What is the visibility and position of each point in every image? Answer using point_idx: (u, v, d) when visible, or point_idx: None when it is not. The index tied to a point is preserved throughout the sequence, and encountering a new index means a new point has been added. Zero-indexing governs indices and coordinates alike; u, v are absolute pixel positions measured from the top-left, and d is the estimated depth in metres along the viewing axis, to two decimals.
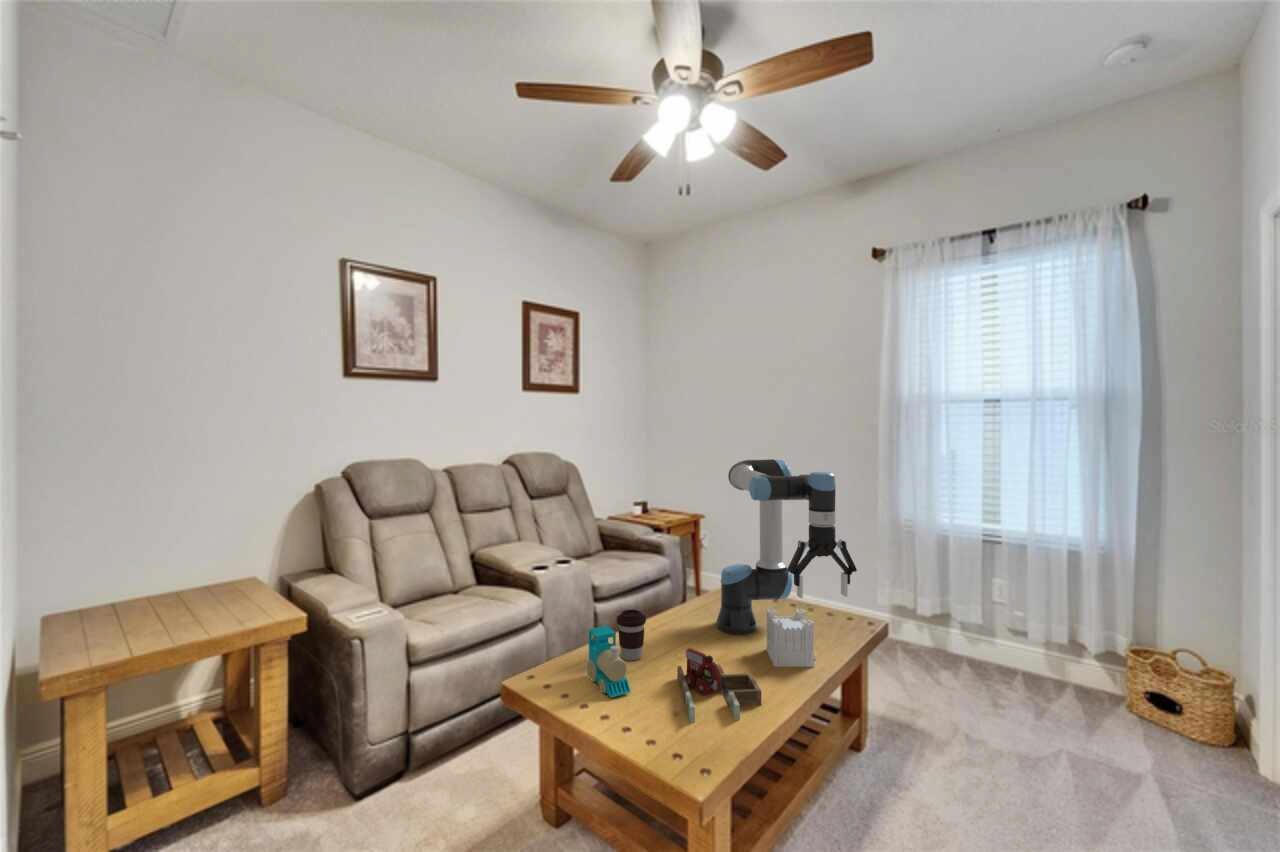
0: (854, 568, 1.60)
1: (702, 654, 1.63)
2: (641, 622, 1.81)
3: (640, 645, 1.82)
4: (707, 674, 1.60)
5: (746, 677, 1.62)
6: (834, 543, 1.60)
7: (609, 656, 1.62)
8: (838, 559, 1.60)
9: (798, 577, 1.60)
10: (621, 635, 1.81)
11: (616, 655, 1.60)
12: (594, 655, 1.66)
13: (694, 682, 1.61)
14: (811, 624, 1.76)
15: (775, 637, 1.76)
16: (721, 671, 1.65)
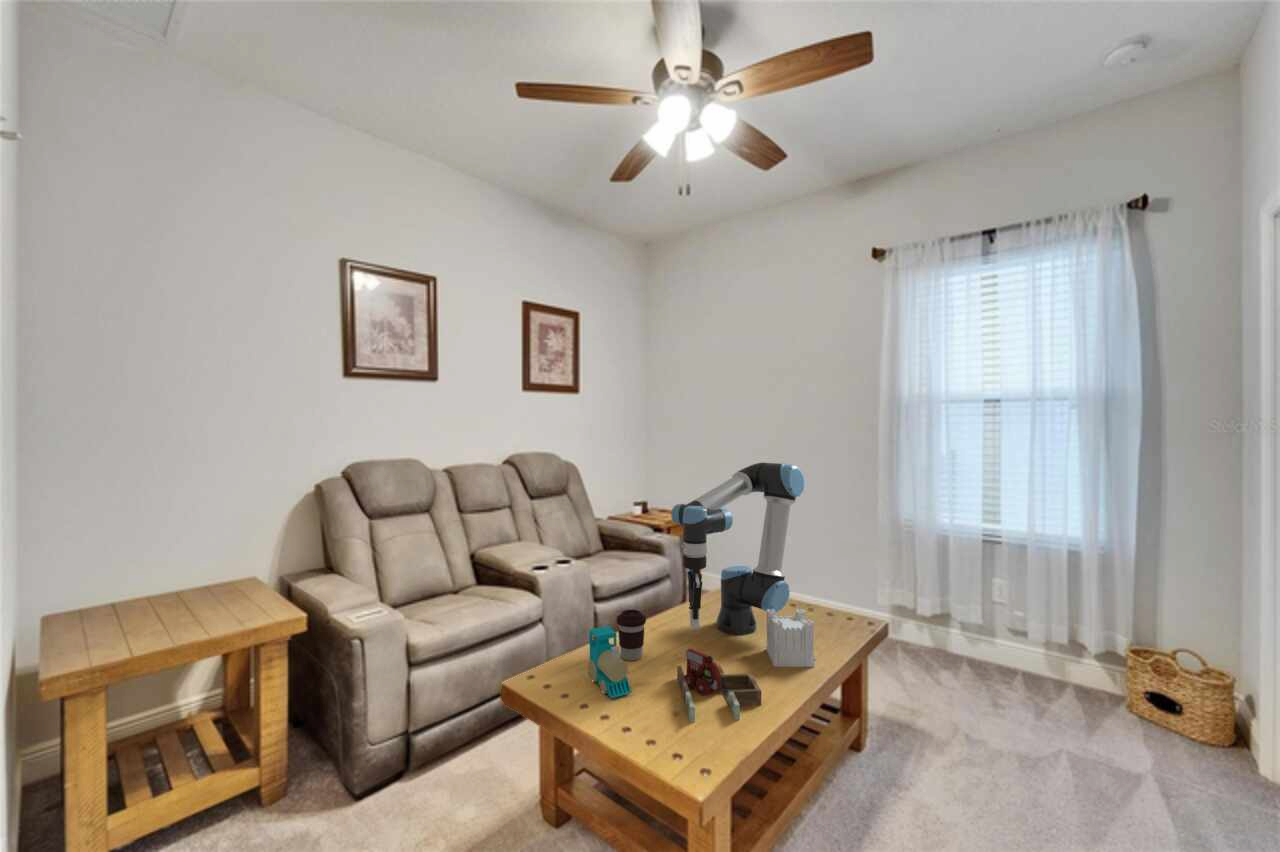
0: (692, 606, 1.71)
1: (702, 654, 1.63)
2: (641, 622, 1.81)
3: (640, 645, 1.82)
4: (707, 674, 1.60)
5: (746, 677, 1.62)
6: (693, 575, 1.71)
7: (610, 657, 1.62)
8: (691, 591, 1.73)
9: None
10: (621, 635, 1.81)
11: (617, 656, 1.60)
12: (595, 656, 1.66)
13: (694, 682, 1.61)
14: (811, 624, 1.76)
15: (775, 637, 1.76)
16: (721, 671, 1.65)
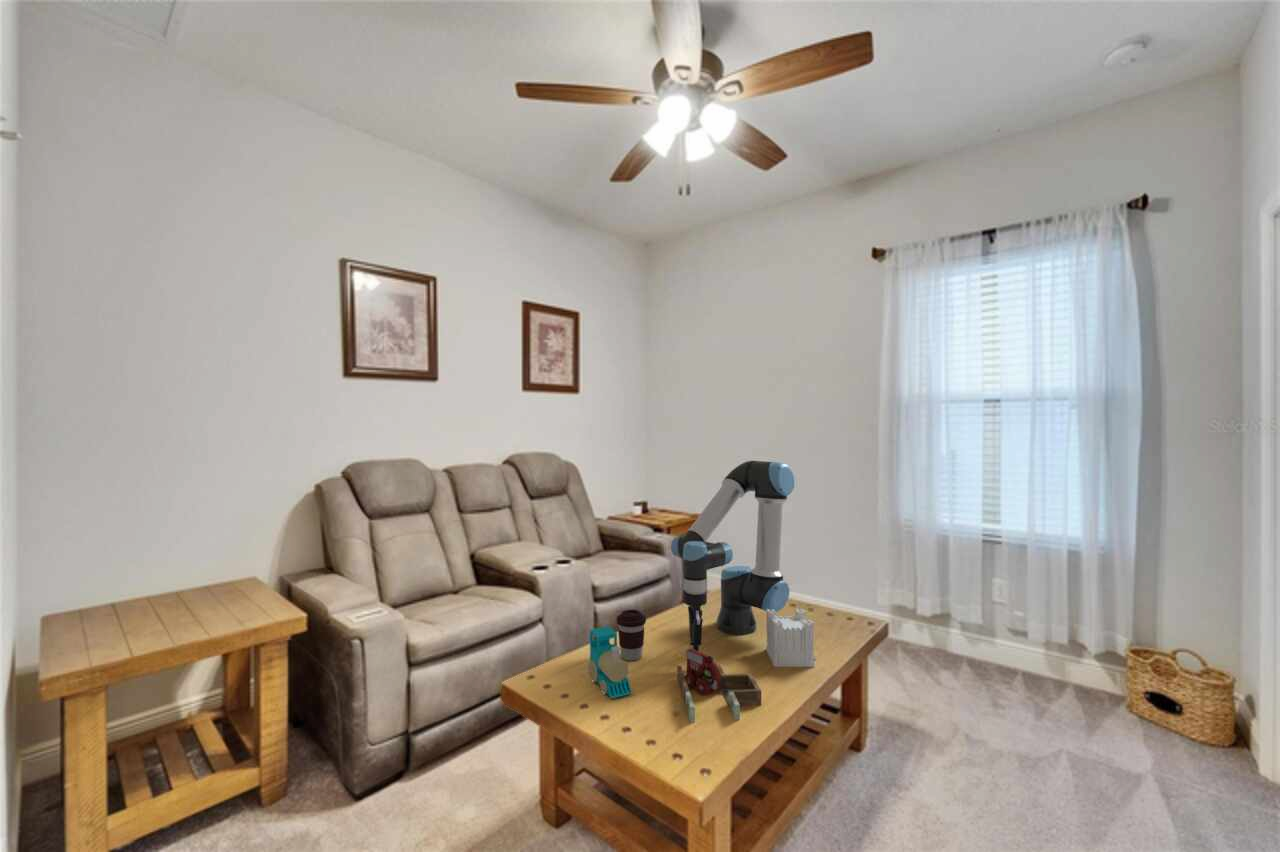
0: (693, 642, 1.71)
1: (702, 654, 1.63)
2: (641, 622, 1.81)
3: (640, 645, 1.82)
4: (707, 674, 1.60)
5: (746, 677, 1.62)
6: (693, 612, 1.71)
7: (610, 657, 1.62)
8: (692, 627, 1.73)
9: None
10: (621, 635, 1.81)
11: (617, 656, 1.60)
12: (595, 656, 1.66)
13: (694, 682, 1.61)
14: (811, 624, 1.76)
15: (775, 637, 1.76)
16: (721, 671, 1.65)
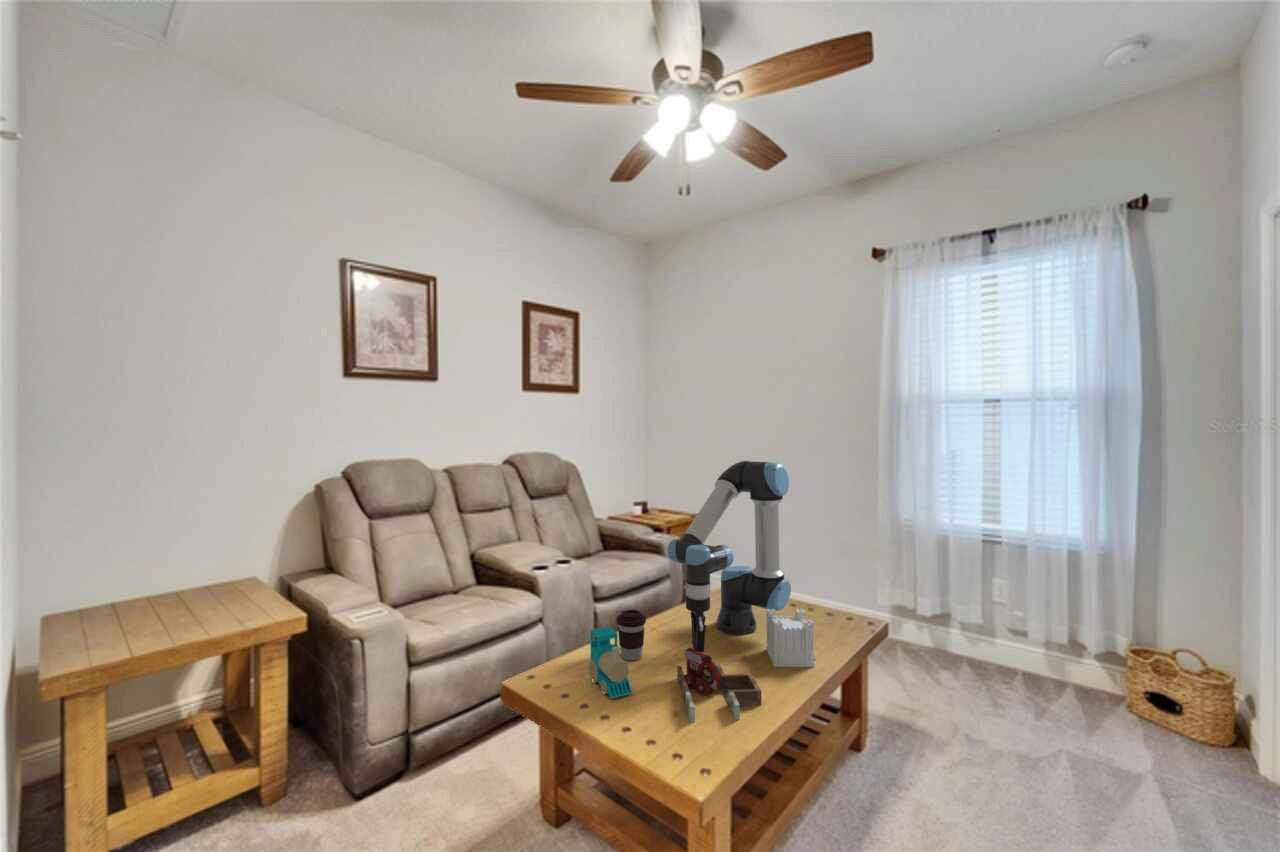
0: (695, 649, 1.66)
1: (701, 654, 1.62)
2: (641, 622, 1.81)
3: (640, 645, 1.82)
4: (706, 674, 1.60)
5: (746, 677, 1.62)
6: (696, 618, 1.65)
7: (610, 657, 1.61)
8: (694, 634, 1.67)
9: None
10: (621, 635, 1.81)
11: (617, 656, 1.59)
12: (596, 656, 1.66)
13: (694, 682, 1.61)
14: (811, 624, 1.76)
15: (775, 637, 1.76)
16: (721, 671, 1.65)
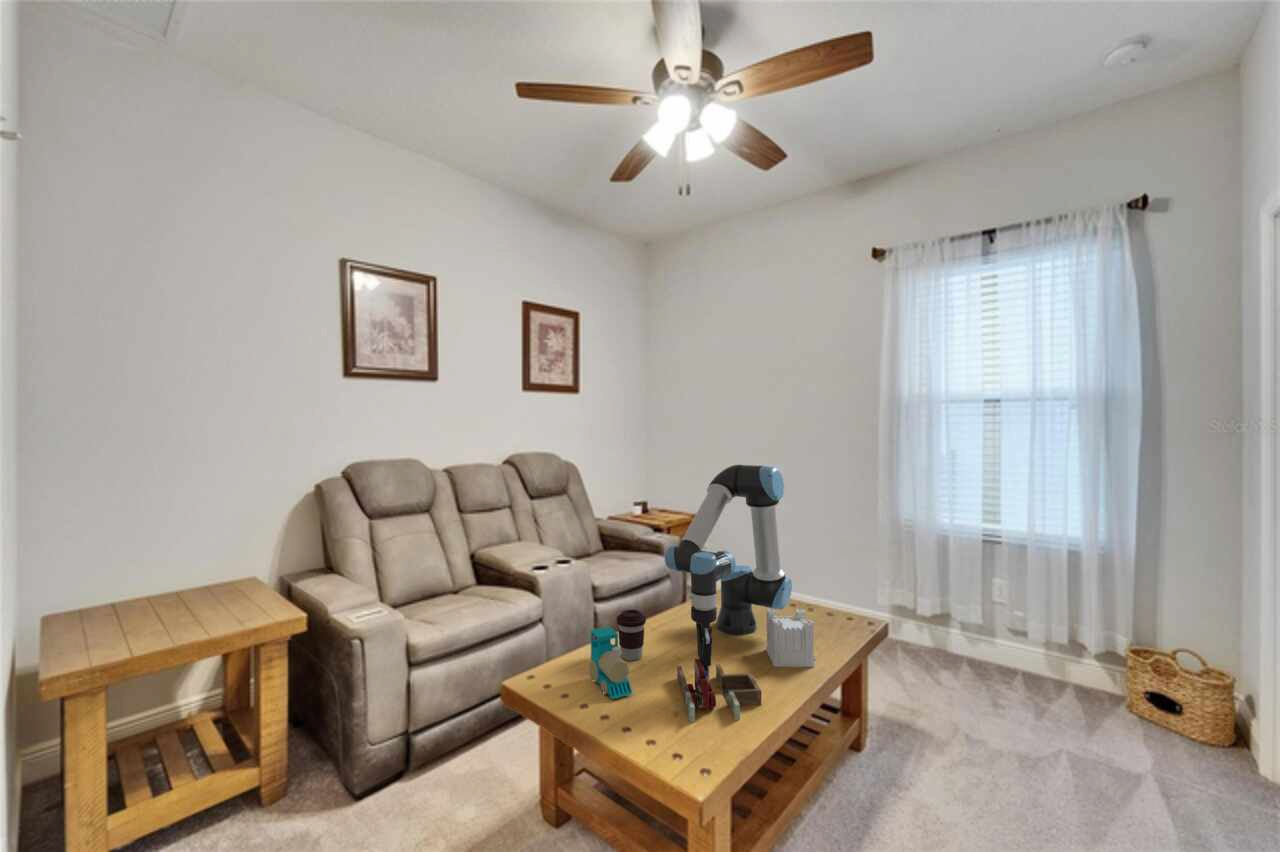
0: (702, 662, 1.57)
1: (700, 667, 1.54)
2: (641, 622, 1.81)
3: (640, 645, 1.82)
4: (698, 689, 1.51)
5: (746, 677, 1.62)
6: (702, 630, 1.57)
7: (611, 657, 1.61)
8: (700, 646, 1.59)
9: None
10: (621, 635, 1.81)
11: (618, 656, 1.59)
12: (596, 656, 1.66)
13: None
14: (811, 624, 1.76)
15: (775, 637, 1.76)
16: (721, 671, 1.65)
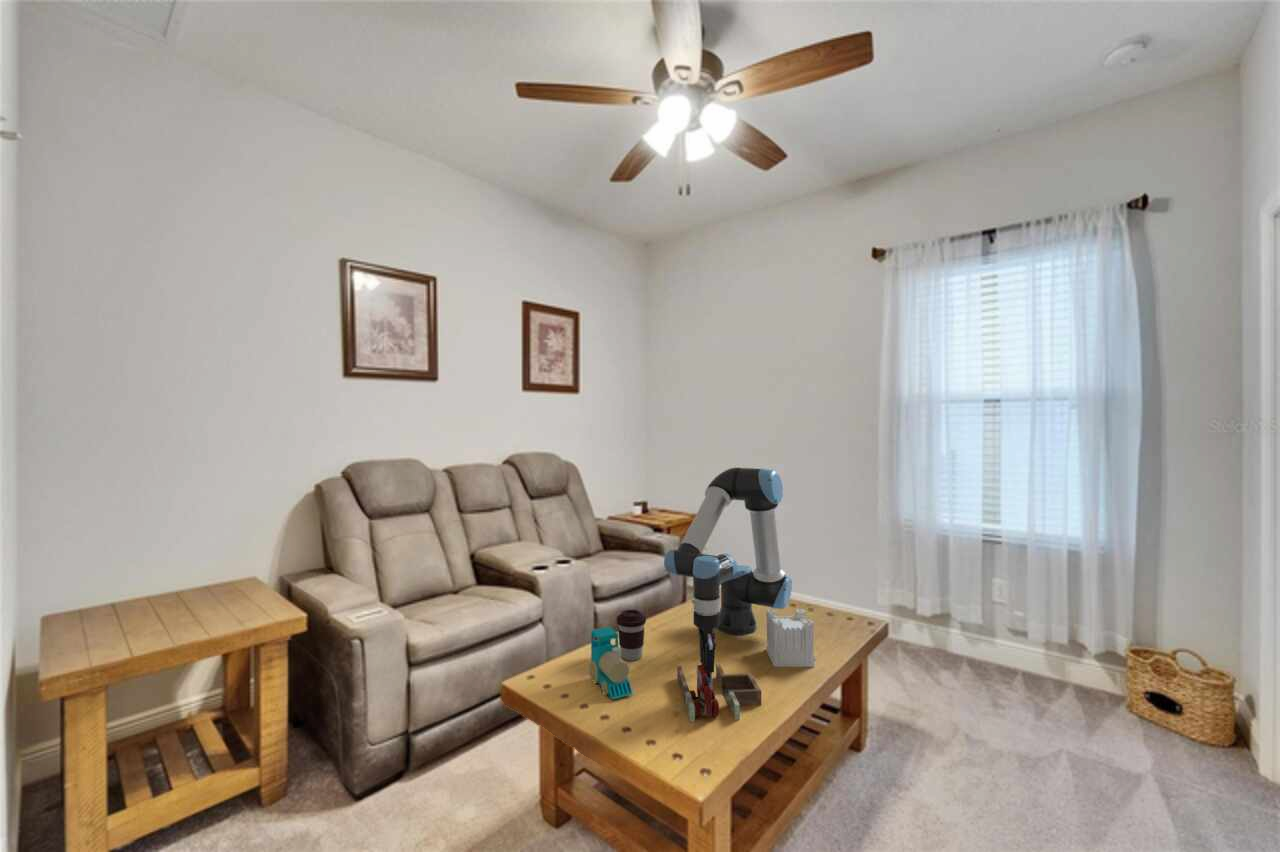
0: (704, 669, 1.53)
1: (703, 674, 1.50)
2: (641, 622, 1.81)
3: (640, 645, 1.82)
4: (701, 696, 1.47)
5: (746, 677, 1.62)
6: (705, 635, 1.53)
7: (611, 657, 1.61)
8: (703, 652, 1.55)
9: None
10: (621, 635, 1.81)
11: (618, 657, 1.59)
12: (596, 657, 1.65)
13: None
14: (811, 624, 1.76)
15: (775, 637, 1.76)
16: (721, 671, 1.65)
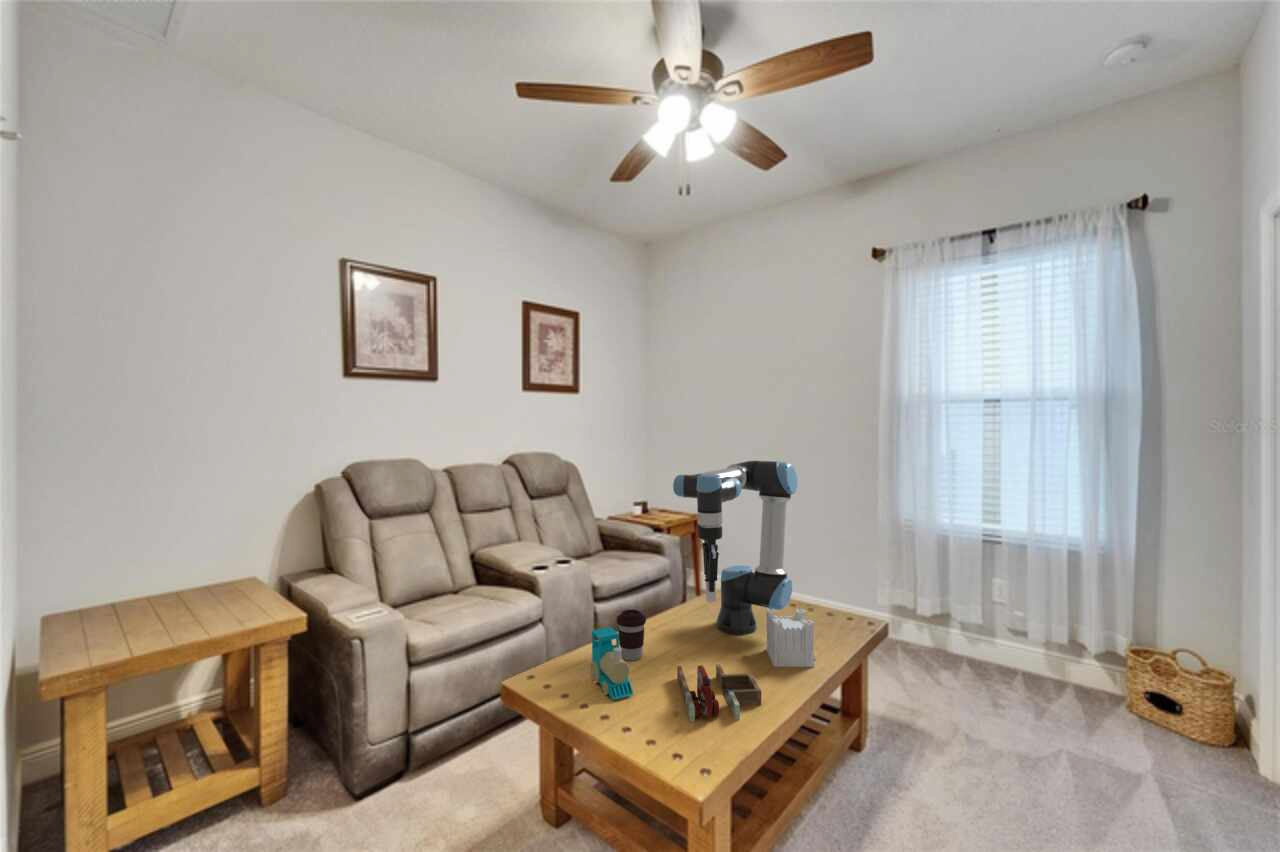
0: (708, 578, 1.63)
1: (704, 674, 1.50)
2: (641, 622, 1.81)
3: (640, 645, 1.82)
4: (702, 696, 1.47)
5: (746, 677, 1.62)
6: (708, 546, 1.63)
7: (612, 658, 1.61)
8: (707, 563, 1.65)
9: None
10: (621, 635, 1.81)
11: (619, 657, 1.59)
12: (597, 657, 1.65)
13: None
14: (811, 624, 1.76)
15: (775, 637, 1.76)
16: (721, 671, 1.65)
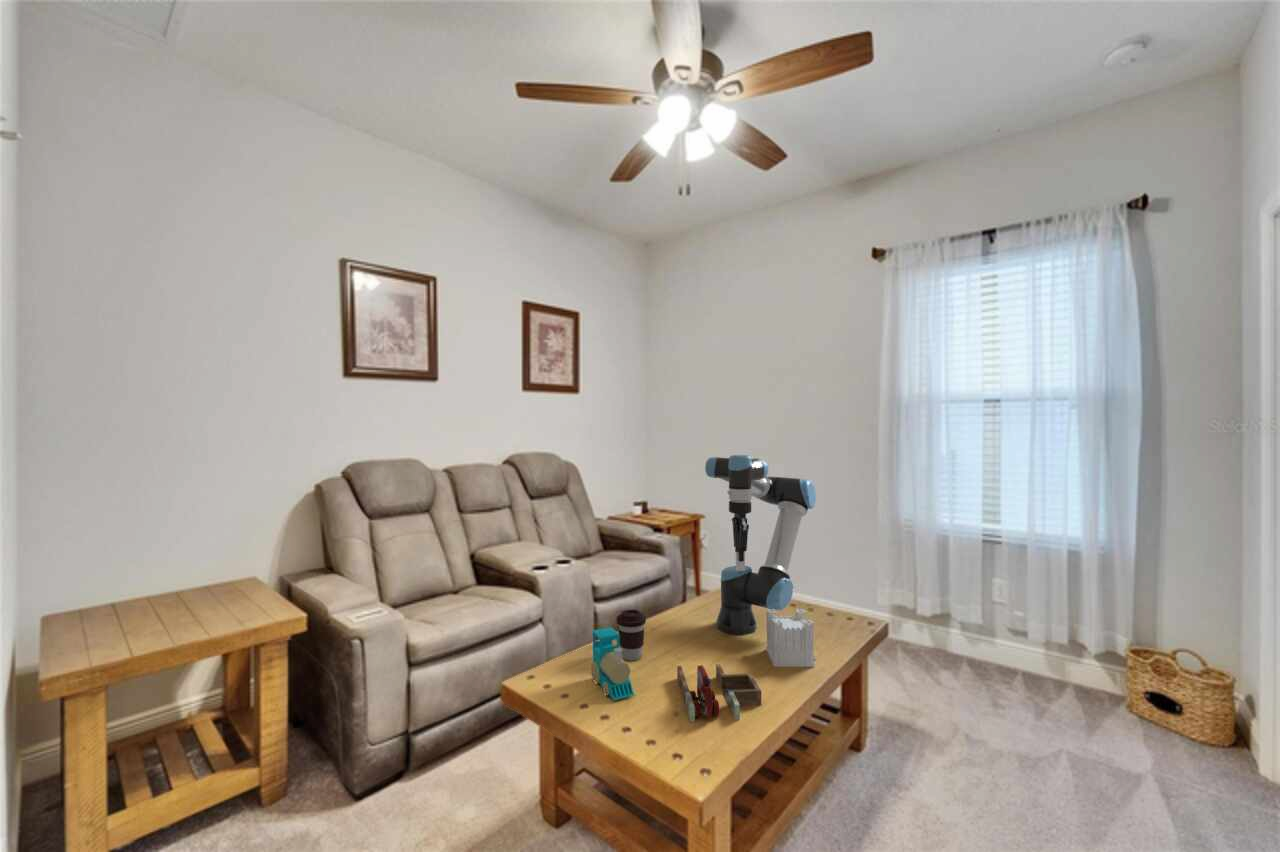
0: (739, 548, 1.80)
1: (704, 674, 1.50)
2: (641, 622, 1.81)
3: (640, 645, 1.82)
4: (702, 696, 1.47)
5: (746, 677, 1.62)
6: (739, 519, 1.80)
7: (612, 658, 1.61)
8: (737, 535, 1.82)
9: None
10: (621, 635, 1.81)
11: (619, 657, 1.58)
12: (598, 657, 1.65)
13: None
14: (811, 624, 1.76)
15: (775, 637, 1.76)
16: (721, 671, 1.65)
